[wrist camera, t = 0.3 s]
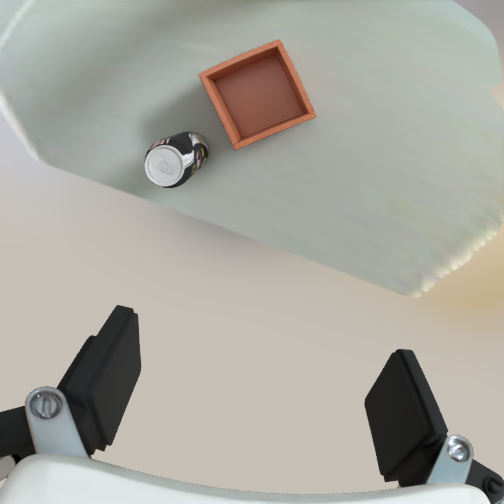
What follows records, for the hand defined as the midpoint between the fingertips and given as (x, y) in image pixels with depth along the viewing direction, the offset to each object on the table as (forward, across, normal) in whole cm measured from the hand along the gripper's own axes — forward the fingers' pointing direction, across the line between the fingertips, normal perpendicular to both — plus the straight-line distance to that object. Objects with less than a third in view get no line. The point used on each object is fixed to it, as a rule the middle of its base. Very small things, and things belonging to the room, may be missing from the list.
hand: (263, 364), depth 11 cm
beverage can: (+37, +11, -1) cm, 38 cm away
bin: (+36, +3, -10) cm, 38 cm away
